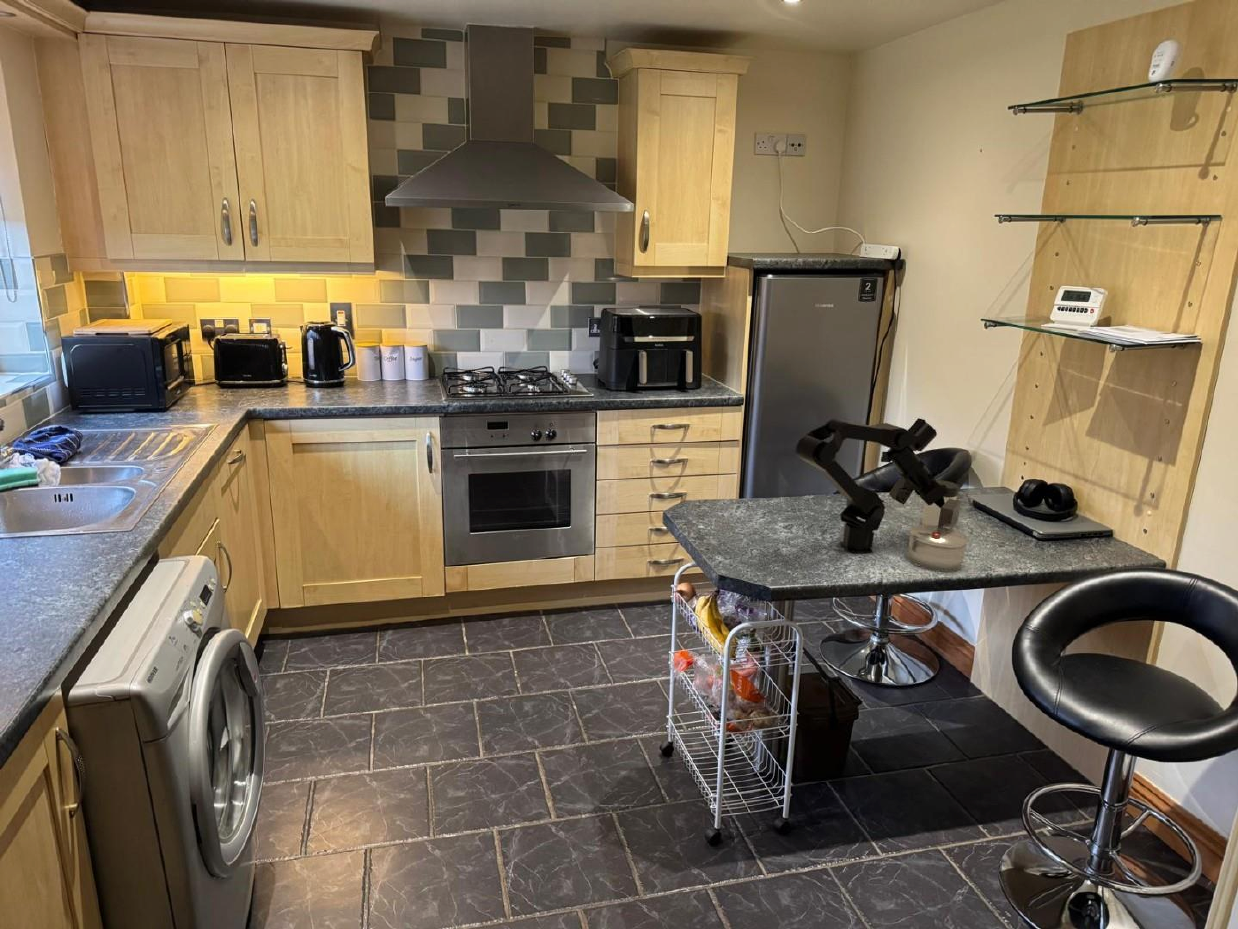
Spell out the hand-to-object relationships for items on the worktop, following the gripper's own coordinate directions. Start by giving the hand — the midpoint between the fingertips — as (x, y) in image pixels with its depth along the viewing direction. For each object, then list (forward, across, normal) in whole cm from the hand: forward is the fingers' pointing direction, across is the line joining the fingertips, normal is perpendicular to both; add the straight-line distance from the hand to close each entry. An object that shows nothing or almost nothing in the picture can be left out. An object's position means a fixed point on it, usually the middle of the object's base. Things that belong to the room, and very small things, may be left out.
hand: (943, 508), depth 217 cm
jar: (+12, -18, -3) cm, 21 cm away
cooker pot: (+6, +8, -9) cm, 14 cm away
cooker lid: (+2, +8, -5) cm, 9 cm away
